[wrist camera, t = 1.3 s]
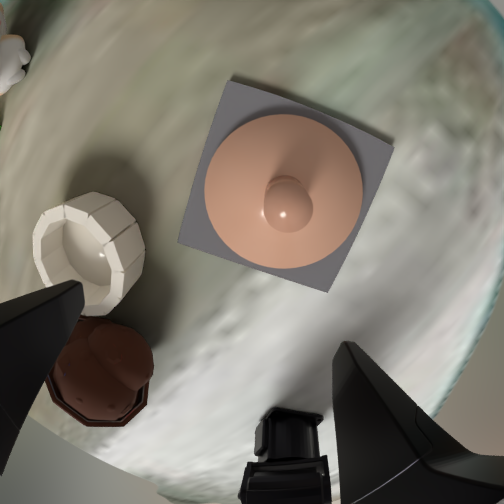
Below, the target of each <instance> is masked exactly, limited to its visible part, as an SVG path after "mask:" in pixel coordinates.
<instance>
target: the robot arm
mask: <svg viewBox="0 0 504 504" xmlns="http://www.w3.org/2000/svg"><path fill="white" fill-rule="evenodd" d="M84 306H85V297H84V289H83V284H82V283H81V282H80V281H77V280H73V279H71V280H68V281H65V282H62V283H59V284H56V285H53V286H50V287H47V288H44V289H41V290H38V291H35V292H32V293H29V294H26V295H23V296H20V297H17V298H15V299H12V300H9V301H6V302H3V303H0V475H1V476H2V474H3V472H4V469H5V466H6V464H7V461H8V458H9V456H10V453H11V451H12V448H13V446H14V444H15V441H16V439H17V437H18V434H19V432H20V429H21V427H22V425H23V423H24V421H25V419H26V417H27V414H28V412H29V410H30V408H31V406H32V404H33V402H34V400H35V398H36V396H37V394H38V392H39V391H40V389H41V387H42V385H43V383H44V381H45V379H46V378H47V376H48V374H49V372H50V370H51V369H52V367H53V365H54V363H55V362H56V360H57V358H58V356H59V355H60V353H61V351H62V350H63V348H64V346H65V345H66V343H67V341H68V339H69V337H70V335H71V333H72V331H73V329H74V327H75V325H76V323H77V321H78V319H79V317H80V315H81V313H82V311H83V309H84ZM332 399H333V412H334V421H335V431H336V441H337V453H338V466H339V480H340V498H341V504H504V456H489V455H480V454H476V453H473V452H471V451H469V450H468V449H466V448H465V447H464V446H463V445H461V444H460V443H459V442H458V441H457V440H455V439H454V438H453V437H452V436H451V435H449V434H448V433H447V432H446V431H445V430H443V429H442V428H441V427H440V426H439V425H438V424H436V422H434V421H433V420H432V419H431V418H430V417H429V416H428V415H427V414H426V413H425V412H424V411H423V410H422V409H421V408H420V407H419V406H417V404H416V403H415V402H414V401H413V400H412V399H411V398H410V397H409V396H408V395H407V394H406V393H405V392H404V391H403V390H402V389H401V388H400V387H399V386H398V385H397V384H396V383H395V382H394V381H393V380H392V379H391V378H390V377H389V376H388V375H387V374H386V373H385V372H384V371H383V370H382V369H381V368H380V367H379V366H378V365H377V364H376V363H375V362H374V361H373V360H372V359H371V358H370V357H369V356H368V355H367V354H366V353H365V352H364V351H363V350H362V349H361V348H360V347H359V346H358V345H357V344H356V343H355V342H351V341H343V342H342V343H341V345H340V347H339V348H338V350H337V352H336V354H335V356H334V358H333V362H332ZM322 421H323V416H322V415H316V414H309V413H303V412H297V411H292V410H286V409H281V408H273V409H272V410H271V411H270V412H269V414H268V415H267V416H266V418H264V419H263V420H262V421H261V422H260V424H259V425H258V426H257V427H256V431H255V448H254V454H255V456H258V462H247V467H245V471H244V476H243V480H242V485H241V488H240V490H239V493H238V498H239V499H240V500H241V503H242V504H332V497H331V483H330V475H329V467H328V459H327V455H323V456H321V457H320V451H319V441H318V431H317V426H318V425H319V424H320V423H321V422H322ZM322 474H323V475H322Z"/></svg>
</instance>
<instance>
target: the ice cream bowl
mask: <svg viewBox="0 0 504 504" xmlns="http://www.w3.org/2000/svg"><path fill="white" fill-rule="evenodd" d="M153 369H154V364H153V353H152V351H151V348H150V347H149V345H148V344H147V342H146V341H145V339H144V337H143V336H141V335H140V334H139V333H138V332H136V331H135V330H134V329H133V328H129V327H126V326H123V325H120V324H116V323H113V322H111V321H110V320H109V319H104V318H99V317H93V316H86V315H82V314H81V315H80V317H79V319H78V321H77V323H76V325H75V327H74V329H73V331H72V333H71V335H70V337H69V339H68V341H67V343H66V345H65V346H64V348H63V350H62V351H61V353H60V355H59V356H58V358H57V360H56V362H55V363H54V365H53V367H52V369H51V370H50V372H49V374H48V376H47V378H46V379H45V383H46V385H47V388H48V391H49V393H50V396H51V398H52V401H53V402H54V403H55V404H56V405H57V406H59V407H60V408H61V409H63V410H64V411H65V412H66V413H68V414H69V415H70V416H72V417H73V418H75V419H76V420H77V421H79V422H80V423H82V424H83V425H85V426H87V427H124V426H125V425H126V424H127V423H128V422H129V421H130V420H131V419H132V418H134V417H135V416H136V415H137V414H138V413H139V412H140V411H141V410H142V409H143V408H144V407H145V406H146V405H147V399H148V388H149V380H150V378H151V377H152V375H153Z"/></svg>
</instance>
